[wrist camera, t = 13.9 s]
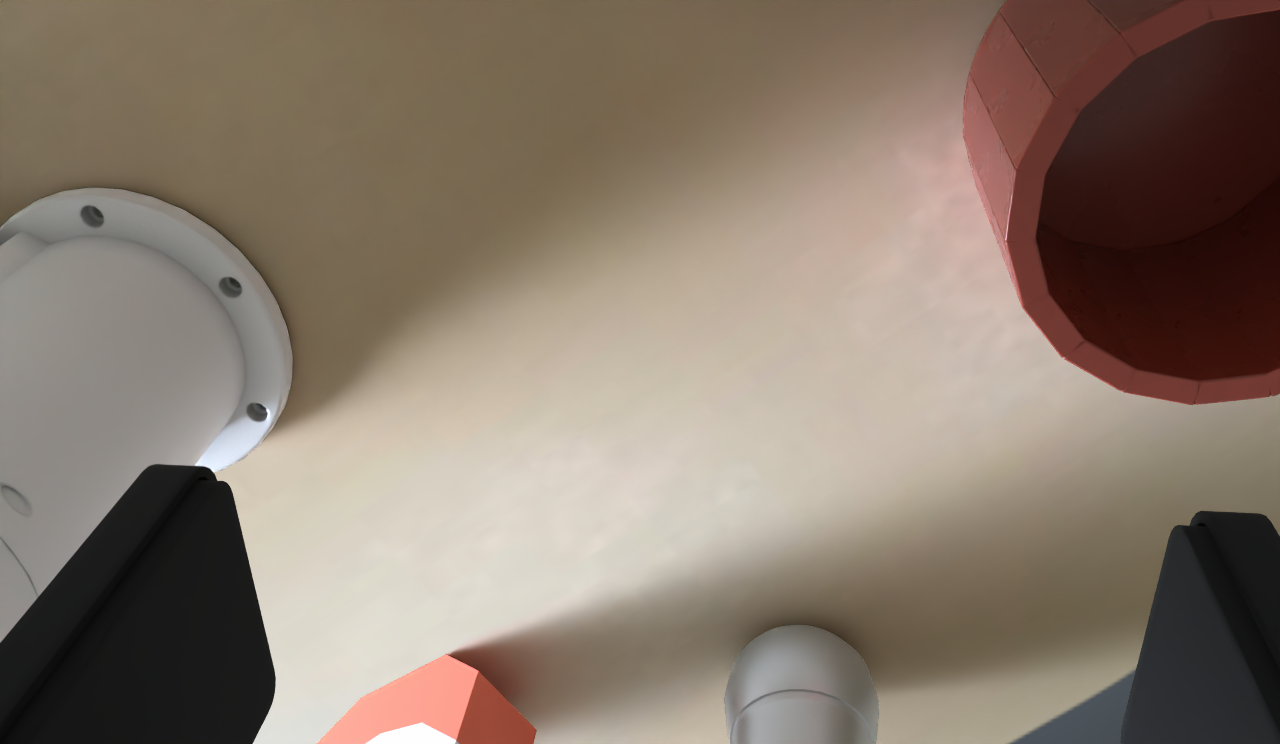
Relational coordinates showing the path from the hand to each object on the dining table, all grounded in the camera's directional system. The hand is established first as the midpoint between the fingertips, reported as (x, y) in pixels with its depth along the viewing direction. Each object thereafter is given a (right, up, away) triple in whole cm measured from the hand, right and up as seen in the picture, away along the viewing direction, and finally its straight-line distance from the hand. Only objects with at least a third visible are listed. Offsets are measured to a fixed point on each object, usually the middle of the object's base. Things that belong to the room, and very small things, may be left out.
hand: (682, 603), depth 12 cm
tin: (+16, +11, +27) cm, 33 cm away
